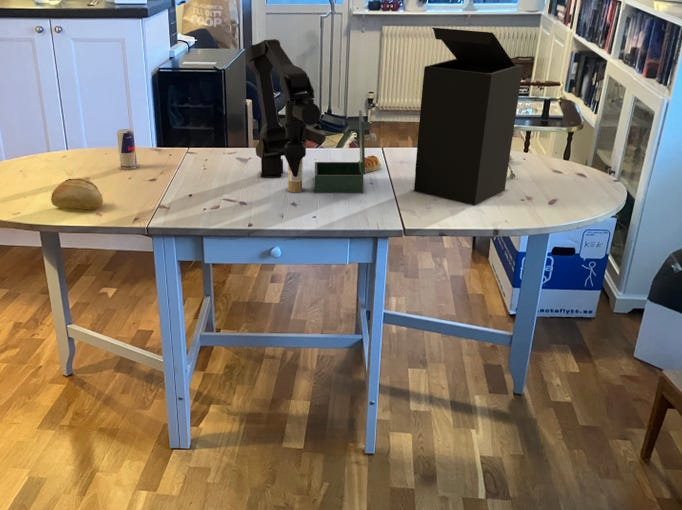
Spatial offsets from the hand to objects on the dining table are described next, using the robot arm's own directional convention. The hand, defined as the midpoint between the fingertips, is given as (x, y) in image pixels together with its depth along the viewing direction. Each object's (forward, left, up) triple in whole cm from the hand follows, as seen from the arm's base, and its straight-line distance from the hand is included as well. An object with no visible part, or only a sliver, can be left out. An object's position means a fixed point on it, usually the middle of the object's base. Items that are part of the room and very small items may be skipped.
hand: (295, 172), depth 221 cm
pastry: (+23, +22, -6) cm, 32 cm away
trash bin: (+49, 0, -6) cm, 49 cm away
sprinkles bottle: (0, 0, -6) cm, 6 cm away
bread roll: (-62, -16, -6) cm, 64 cm away
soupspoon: (+68, +23, -6) cm, 72 cm away
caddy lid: (+19, +5, +8) cm, 21 cm away
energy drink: (-56, +24, -6) cm, 61 cm away
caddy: (+13, +5, -6) cm, 15 cm away
